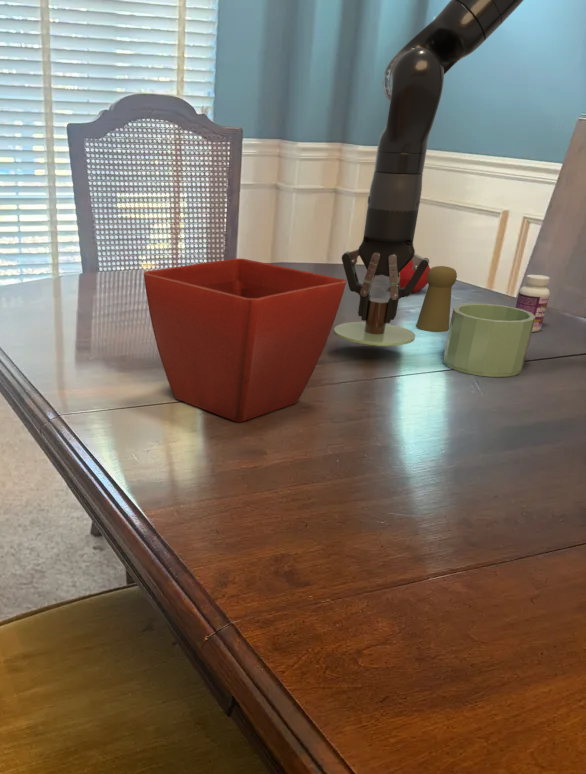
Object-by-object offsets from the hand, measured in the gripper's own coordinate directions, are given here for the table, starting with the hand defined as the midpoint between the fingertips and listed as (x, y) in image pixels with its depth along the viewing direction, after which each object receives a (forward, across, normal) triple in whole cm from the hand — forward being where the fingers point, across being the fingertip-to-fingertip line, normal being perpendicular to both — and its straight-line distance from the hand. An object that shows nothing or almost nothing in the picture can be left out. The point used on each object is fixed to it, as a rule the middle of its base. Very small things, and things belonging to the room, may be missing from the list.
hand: (375, 320), depth 124 cm
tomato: (+6, -1, -56) cm, 57 cm away
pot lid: (+2, 0, 0) cm, 2 cm away
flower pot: (+6, +14, +30) cm, 34 cm away
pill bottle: (+6, -25, -32) cm, 41 cm away
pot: (+6, -18, -3) cm, 19 cm away
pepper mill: (+6, -8, -25) cm, 27 cm away
